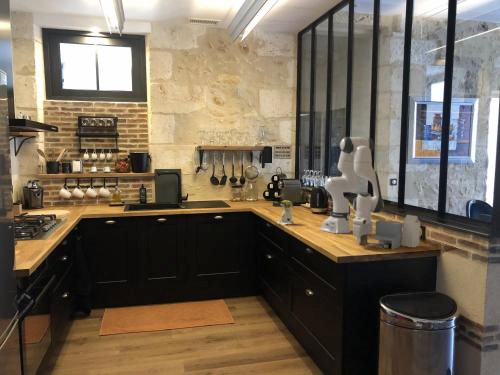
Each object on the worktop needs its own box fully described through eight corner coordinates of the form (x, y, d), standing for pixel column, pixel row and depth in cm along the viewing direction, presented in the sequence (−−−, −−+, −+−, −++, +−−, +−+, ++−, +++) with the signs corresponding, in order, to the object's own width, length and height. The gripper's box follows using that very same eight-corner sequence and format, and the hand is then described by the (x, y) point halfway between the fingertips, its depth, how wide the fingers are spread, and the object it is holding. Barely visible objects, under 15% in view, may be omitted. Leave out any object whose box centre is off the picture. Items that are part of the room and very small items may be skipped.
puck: (376, 248, 240) (376, 245, 240) (377, 247, 243) (377, 244, 243) (382, 249, 238) (383, 246, 237) (384, 248, 241) (384, 245, 241)
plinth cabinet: (370, 245, 246) (371, 222, 244) (379, 242, 255) (380, 220, 254) (393, 249, 237) (394, 225, 235) (401, 245, 246) (402, 222, 245)
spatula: (359, 245, 247) (359, 235, 247) (360, 243, 251) (361, 234, 250) (387, 248, 239) (388, 238, 239) (389, 247, 243) (389, 237, 242)
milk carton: (412, 248, 240) (413, 216, 238) (401, 245, 246) (403, 215, 244) (419, 246, 245) (420, 215, 243) (408, 244, 250) (409, 214, 248)
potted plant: (284, 221, 324) (284, 198, 322) (297, 223, 315) (297, 200, 313) (274, 223, 316) (274, 200, 314) (287, 225, 307) (287, 201, 305)
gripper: (365, 216, 257) (365, 237, 258) (351, 220, 241) (350, 243, 242) (375, 217, 253) (374, 239, 254) (361, 222, 237) (360, 245, 238)
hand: (362, 241), depth 248 cm, fingers open, 8 cm apart
